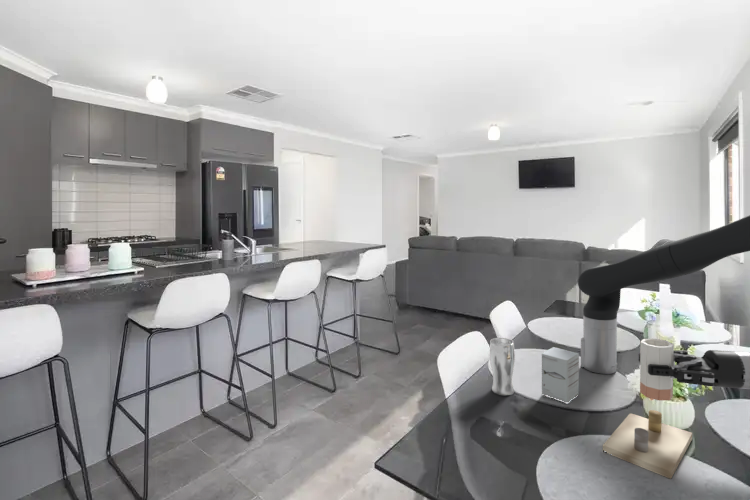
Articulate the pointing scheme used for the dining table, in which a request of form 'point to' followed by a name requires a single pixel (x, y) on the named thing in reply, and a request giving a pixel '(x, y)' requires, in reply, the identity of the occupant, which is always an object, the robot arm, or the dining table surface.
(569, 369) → the supplement box
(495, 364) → the beer glass
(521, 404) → the dining table surface
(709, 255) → the robot arm
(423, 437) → the dining table surface
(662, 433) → the pin board
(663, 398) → the sleeve
